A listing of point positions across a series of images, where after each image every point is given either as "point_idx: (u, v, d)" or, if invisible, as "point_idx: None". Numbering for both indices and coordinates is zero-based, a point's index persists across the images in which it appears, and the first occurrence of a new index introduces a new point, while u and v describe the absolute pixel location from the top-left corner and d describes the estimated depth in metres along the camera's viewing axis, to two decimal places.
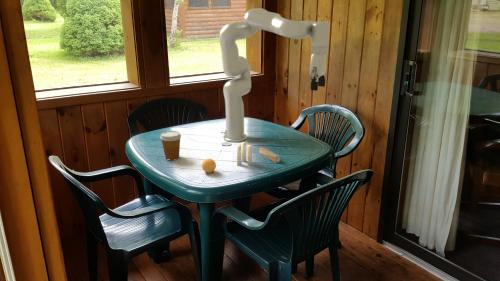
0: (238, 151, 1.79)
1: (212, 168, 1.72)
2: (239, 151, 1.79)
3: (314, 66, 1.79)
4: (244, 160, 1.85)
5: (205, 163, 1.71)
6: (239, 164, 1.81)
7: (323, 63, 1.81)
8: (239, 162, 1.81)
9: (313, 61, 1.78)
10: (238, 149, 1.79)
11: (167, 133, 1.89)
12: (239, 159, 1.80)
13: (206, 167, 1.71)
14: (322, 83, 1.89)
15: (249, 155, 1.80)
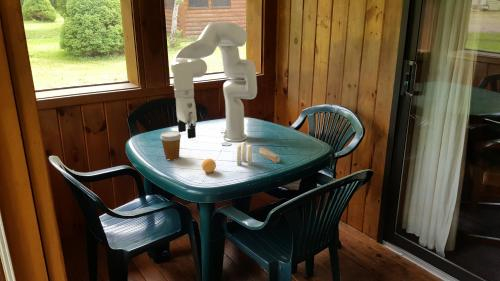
0: (238, 151, 1.79)
1: (212, 168, 1.72)
2: (239, 151, 1.79)
3: None
4: (244, 160, 1.85)
5: (205, 163, 1.71)
6: (239, 164, 1.81)
7: (178, 107, 1.60)
8: (239, 162, 1.81)
9: None
10: (238, 149, 1.79)
11: (167, 133, 1.89)
12: (239, 159, 1.80)
13: (206, 167, 1.71)
14: None
15: (249, 155, 1.80)
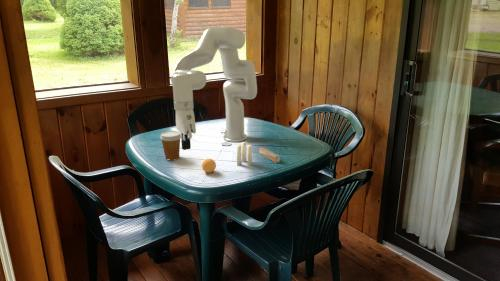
0: (238, 151, 1.79)
1: (212, 168, 1.72)
2: (239, 151, 1.79)
3: None
4: (244, 160, 1.85)
5: (205, 163, 1.71)
6: (239, 164, 1.81)
7: (177, 118, 1.61)
8: (239, 162, 1.81)
9: None
10: (238, 149, 1.79)
11: (167, 133, 1.89)
12: (239, 159, 1.80)
13: (206, 167, 1.71)
14: None
15: (249, 155, 1.80)
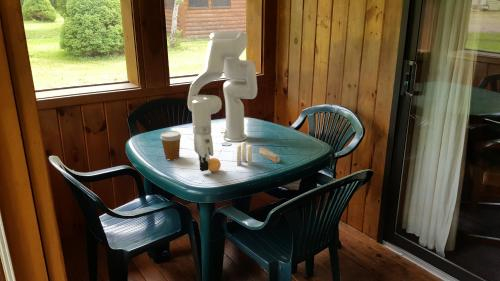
0: (238, 151, 1.79)
1: (216, 168, 1.73)
2: (239, 151, 1.79)
3: None
4: (244, 160, 1.85)
5: (213, 160, 1.72)
6: (239, 164, 1.81)
7: (196, 142, 1.69)
8: (239, 162, 1.81)
9: None
10: (238, 149, 1.79)
11: (167, 133, 1.89)
12: (239, 159, 1.80)
13: (212, 164, 1.72)
14: None
15: (249, 155, 1.80)
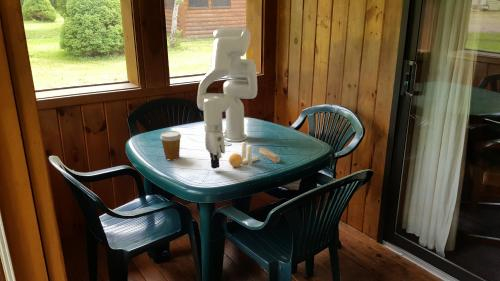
0: (254, 158, 1.85)
1: (239, 160, 1.77)
2: (254, 159, 1.85)
3: None
4: None
5: (237, 166, 1.79)
6: (243, 162, 1.82)
7: (207, 139, 1.71)
8: (245, 161, 1.82)
9: None
10: (256, 157, 1.86)
11: (167, 133, 1.89)
12: None
13: (240, 164, 1.79)
14: None
15: (249, 155, 1.80)
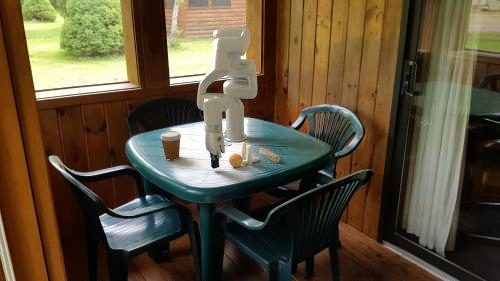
0: (255, 160, 1.85)
1: (239, 160, 1.77)
2: (255, 161, 1.85)
3: None
4: None
5: (237, 166, 1.79)
6: (244, 164, 1.82)
7: (207, 139, 1.71)
8: (246, 163, 1.82)
9: None
10: (257, 159, 1.85)
11: (167, 133, 1.89)
12: None
13: (240, 164, 1.79)
14: None
15: (249, 155, 1.80)
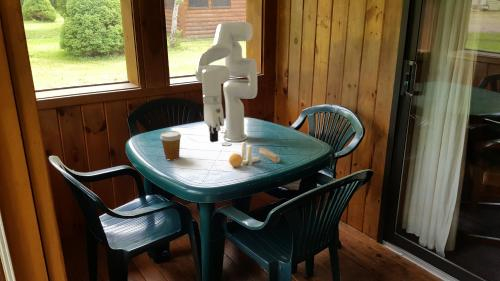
0: (255, 160, 1.85)
1: (239, 160, 1.77)
2: (255, 161, 1.85)
3: None
4: None
5: (237, 166, 1.79)
6: (244, 164, 1.82)
7: (206, 112, 1.67)
8: (246, 163, 1.82)
9: None
10: (257, 160, 1.85)
11: (167, 133, 1.89)
12: None
13: (240, 164, 1.79)
14: None
15: (249, 155, 1.79)
